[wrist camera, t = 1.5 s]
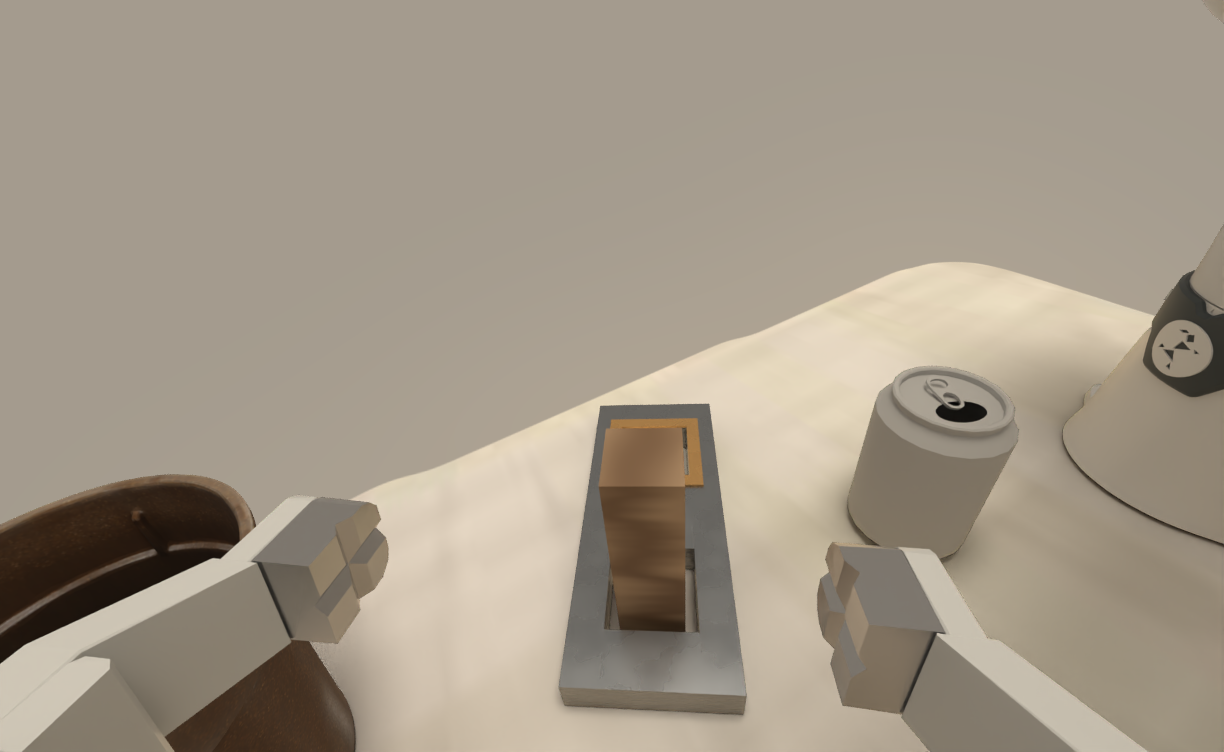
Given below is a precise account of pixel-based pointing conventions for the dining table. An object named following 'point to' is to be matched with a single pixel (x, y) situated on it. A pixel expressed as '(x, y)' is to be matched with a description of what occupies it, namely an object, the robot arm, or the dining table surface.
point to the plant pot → (142, 557)
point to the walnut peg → (645, 525)
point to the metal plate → (655, 660)
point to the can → (931, 458)
